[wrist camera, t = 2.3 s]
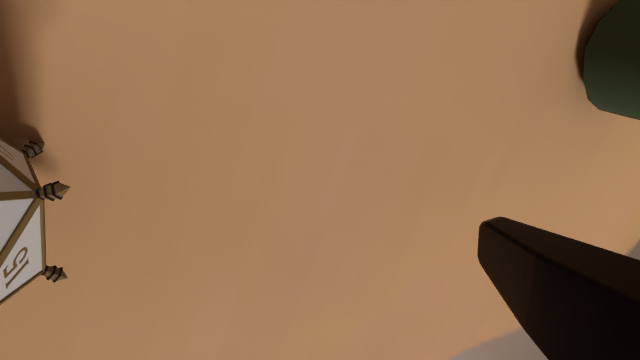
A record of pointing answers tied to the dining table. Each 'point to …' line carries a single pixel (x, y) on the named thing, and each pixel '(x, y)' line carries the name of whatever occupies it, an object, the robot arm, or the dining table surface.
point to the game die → (23, 220)
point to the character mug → (615, 61)
